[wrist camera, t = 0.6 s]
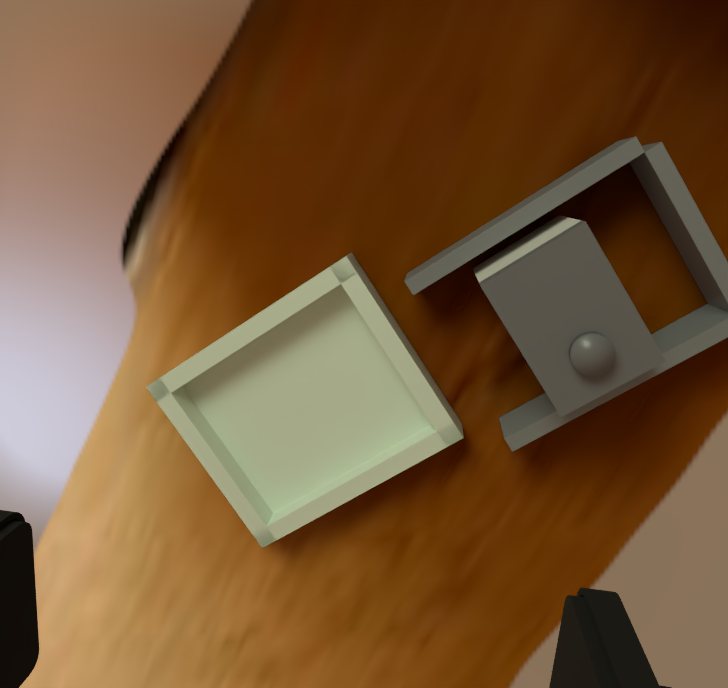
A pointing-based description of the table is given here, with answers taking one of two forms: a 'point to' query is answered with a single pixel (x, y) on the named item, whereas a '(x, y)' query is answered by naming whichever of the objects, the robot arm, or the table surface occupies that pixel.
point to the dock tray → (308, 403)
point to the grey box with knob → (568, 313)
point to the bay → (687, 230)
